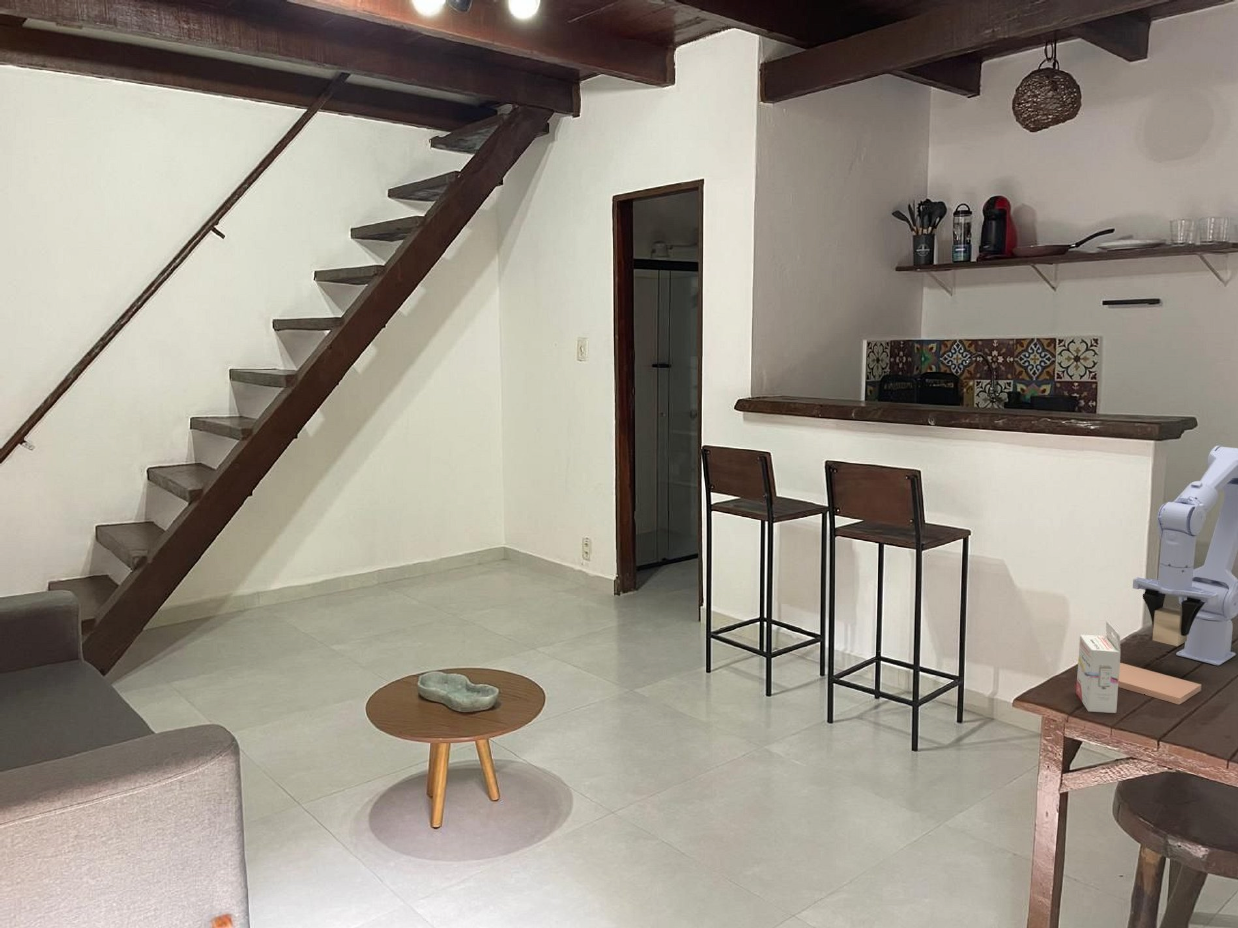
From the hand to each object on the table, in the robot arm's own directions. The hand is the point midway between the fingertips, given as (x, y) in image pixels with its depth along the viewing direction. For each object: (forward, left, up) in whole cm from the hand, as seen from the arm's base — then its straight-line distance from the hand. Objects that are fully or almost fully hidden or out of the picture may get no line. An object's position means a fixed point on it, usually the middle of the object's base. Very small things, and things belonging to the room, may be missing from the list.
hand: (1170, 631), depth 182 cm
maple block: (0, 0, -2) cm, 2 cm away
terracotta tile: (+9, 0, -9) cm, 13 cm away
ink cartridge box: (+25, -3, -9) cm, 27 cm away
